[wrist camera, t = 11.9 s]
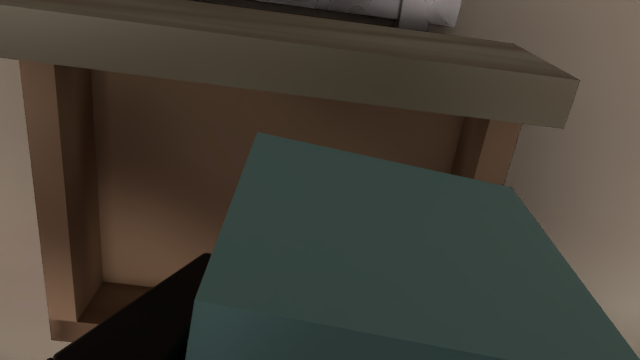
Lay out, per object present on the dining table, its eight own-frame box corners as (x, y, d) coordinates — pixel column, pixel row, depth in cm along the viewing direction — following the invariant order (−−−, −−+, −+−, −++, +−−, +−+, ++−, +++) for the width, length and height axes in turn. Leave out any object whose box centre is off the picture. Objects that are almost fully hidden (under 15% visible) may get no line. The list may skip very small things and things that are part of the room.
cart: (109, -26, 17) (-50, -2, 10) (477, 23, 17) (580, 80, 10) (120, 240, 21) (15, 392, 14) (416, 274, 21) (458, 438, 14)
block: (218, 336, 11) (150, 586, 6) (257, 132, 9) (195, 300, 5) (431, 375, 11) (493, 635, 7) (511, 187, 9) (662, 388, 5)
